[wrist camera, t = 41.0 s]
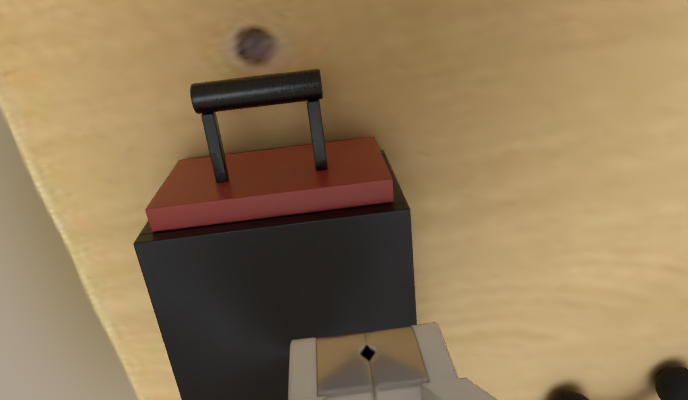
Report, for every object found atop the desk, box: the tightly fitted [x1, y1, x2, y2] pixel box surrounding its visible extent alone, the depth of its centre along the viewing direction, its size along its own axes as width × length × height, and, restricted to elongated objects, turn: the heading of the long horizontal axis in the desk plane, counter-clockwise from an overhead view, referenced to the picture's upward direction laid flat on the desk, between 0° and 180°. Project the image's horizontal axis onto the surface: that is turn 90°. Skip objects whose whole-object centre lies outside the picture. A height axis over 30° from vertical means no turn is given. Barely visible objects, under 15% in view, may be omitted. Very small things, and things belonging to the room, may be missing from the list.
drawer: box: [146, 69, 394, 232], centre depth 28 cm, size 18×11×7 cm, turn 6°
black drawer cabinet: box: [134, 151, 417, 400], centre depth 30 cm, size 15×13×9 cm
